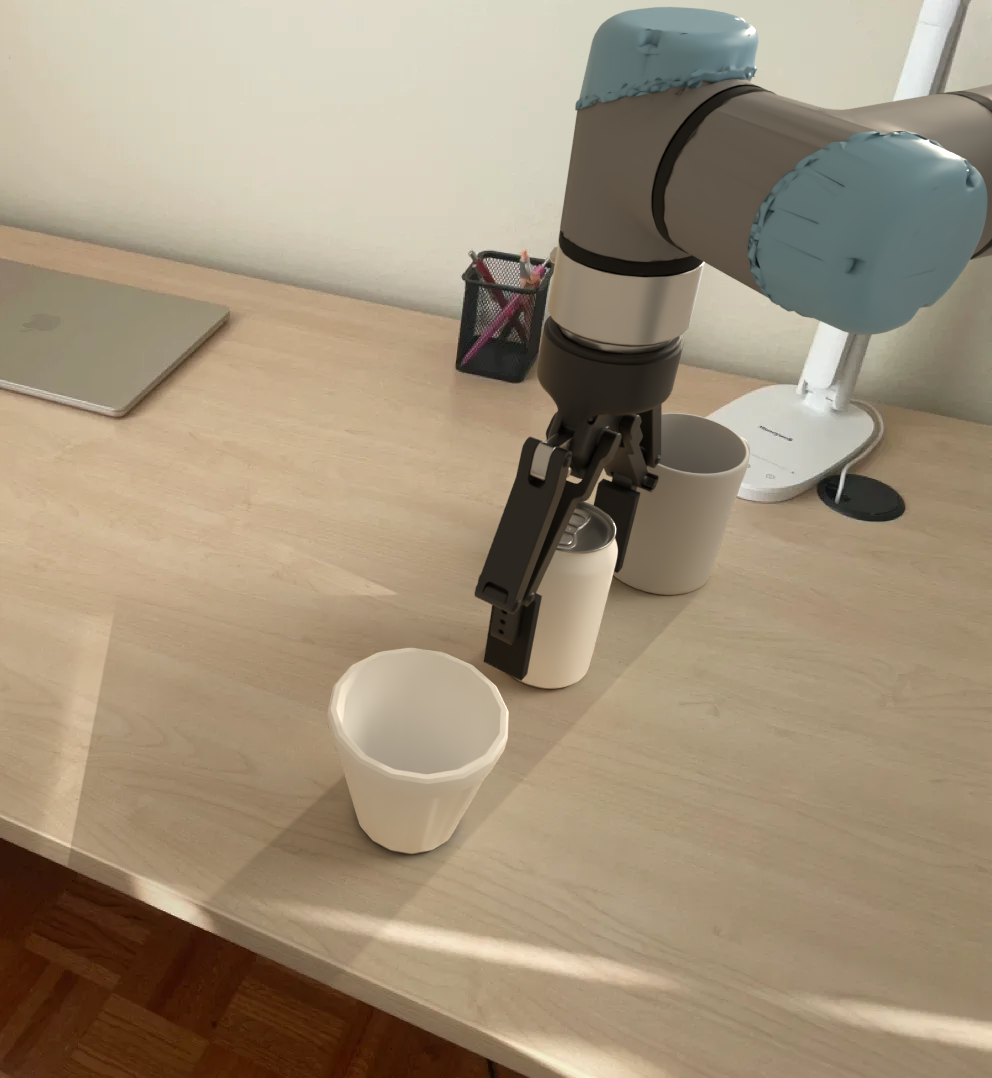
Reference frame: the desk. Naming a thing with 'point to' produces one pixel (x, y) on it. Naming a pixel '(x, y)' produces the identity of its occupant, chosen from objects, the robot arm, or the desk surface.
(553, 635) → the can
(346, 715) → the cup
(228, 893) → the desk surface
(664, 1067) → the desk surface
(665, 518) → the mug
